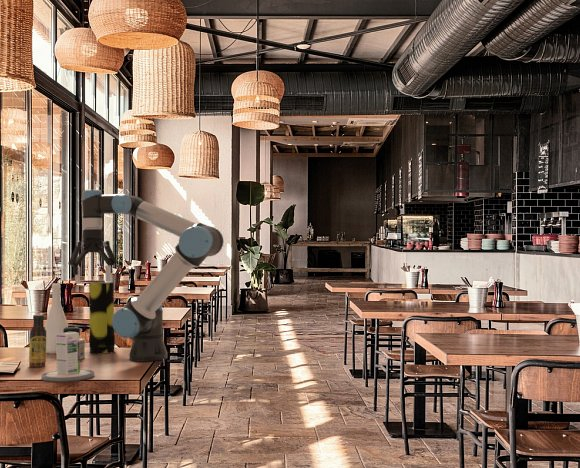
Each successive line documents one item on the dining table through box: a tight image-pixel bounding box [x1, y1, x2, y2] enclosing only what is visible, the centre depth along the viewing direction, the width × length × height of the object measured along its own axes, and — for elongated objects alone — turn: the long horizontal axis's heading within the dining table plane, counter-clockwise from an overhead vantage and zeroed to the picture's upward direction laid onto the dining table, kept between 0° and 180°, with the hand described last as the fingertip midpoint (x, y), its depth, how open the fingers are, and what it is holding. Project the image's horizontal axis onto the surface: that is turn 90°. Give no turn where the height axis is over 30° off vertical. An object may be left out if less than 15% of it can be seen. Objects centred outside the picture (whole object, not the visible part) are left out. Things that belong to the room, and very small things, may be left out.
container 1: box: [63, 326, 86, 360], centre depth 313 cm, size 8×8×13 cm
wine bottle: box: [44, 282, 69, 355], centre depth 332 cm, size 10×10×30 cm
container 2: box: [88, 281, 116, 355], centre depth 331 cm, size 11×11×30 cm
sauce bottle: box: [28, 314, 47, 368], centre depth 295 cm, size 6×6×20 cm
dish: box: [41, 369, 95, 383], centre depth 270 cm, size 18×18×1 cm
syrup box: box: [56, 332, 81, 375], centre depth 270 cm, size 6×6×14 cm
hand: (93, 282), depth 302 cm, fingers open, 13 cm apart
